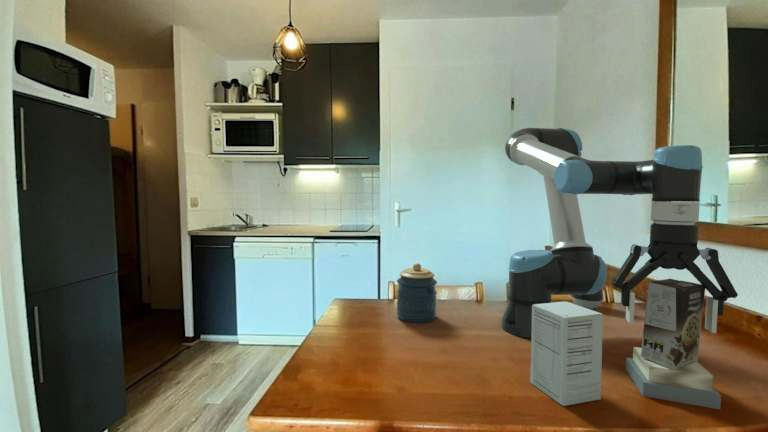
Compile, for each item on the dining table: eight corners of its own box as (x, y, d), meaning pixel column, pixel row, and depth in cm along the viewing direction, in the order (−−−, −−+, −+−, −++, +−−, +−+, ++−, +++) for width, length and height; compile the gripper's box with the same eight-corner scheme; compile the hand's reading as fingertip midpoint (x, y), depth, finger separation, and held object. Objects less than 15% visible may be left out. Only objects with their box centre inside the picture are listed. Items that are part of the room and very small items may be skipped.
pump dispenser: (564, 303, 133) (565, 263, 132) (589, 302, 134) (591, 262, 133) (582, 311, 123) (583, 268, 122) (609, 310, 124) (611, 268, 123)
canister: (444, 318, 114) (445, 264, 113) (413, 326, 106) (414, 268, 106) (418, 308, 124) (419, 258, 124) (388, 314, 117) (389, 262, 116)
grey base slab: (642, 399, 70) (643, 382, 69) (625, 372, 81) (626, 357, 81) (720, 413, 65) (721, 395, 65) (690, 382, 77) (691, 367, 76)
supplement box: (602, 400, 68) (606, 313, 67) (563, 408, 65) (566, 318, 64) (564, 376, 77) (566, 300, 76) (528, 382, 74) (530, 303, 74)
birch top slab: (648, 381, 70) (649, 366, 70) (632, 359, 79) (633, 346, 79) (712, 391, 66) (713, 375, 66) (687, 368, 76) (688, 354, 76)
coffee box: (676, 371, 68) (684, 289, 67) (639, 356, 74) (646, 280, 72) (699, 362, 72) (707, 284, 71) (662, 349, 78) (669, 277, 76)
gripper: (606, 222, 73) (602, 323, 74) (767, 226, 64) (759, 342, 65) (599, 220, 80) (595, 312, 81) (742, 224, 71) (736, 328, 72)
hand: (668, 326), depth 73 cm, fingers open, 13 cm apart
